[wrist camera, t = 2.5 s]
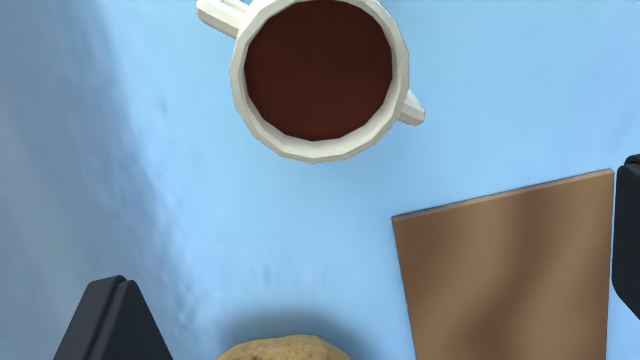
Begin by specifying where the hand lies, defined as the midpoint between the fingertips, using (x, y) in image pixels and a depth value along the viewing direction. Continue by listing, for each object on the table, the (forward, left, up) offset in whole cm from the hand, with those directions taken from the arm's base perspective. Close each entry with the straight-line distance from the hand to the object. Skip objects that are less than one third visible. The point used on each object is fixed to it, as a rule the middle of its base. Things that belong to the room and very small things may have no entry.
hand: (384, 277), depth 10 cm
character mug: (0, 0, -25) cm, 25 cm away
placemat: (-11, +26, -25) cm, 37 cm away
